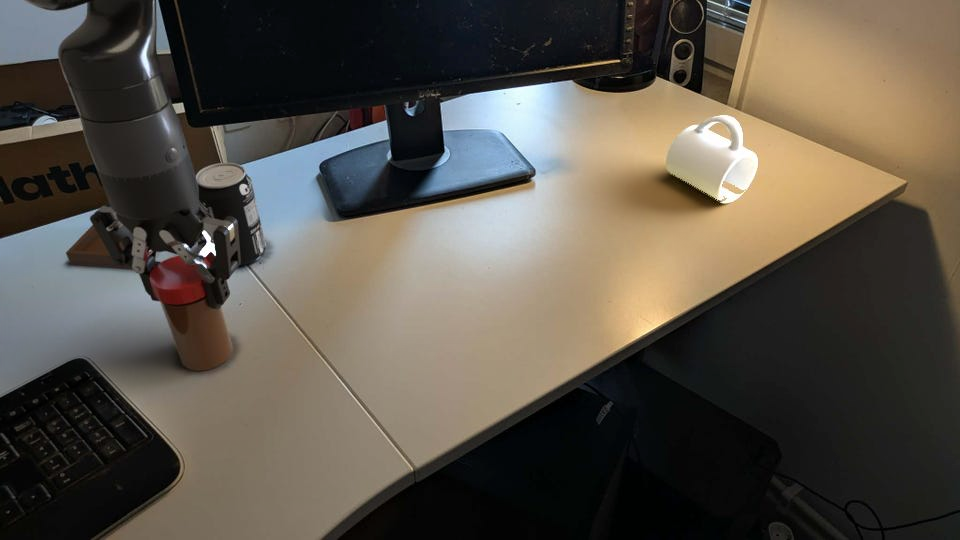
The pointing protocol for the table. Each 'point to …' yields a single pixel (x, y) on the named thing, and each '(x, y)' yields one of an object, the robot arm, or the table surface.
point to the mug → (712, 158)
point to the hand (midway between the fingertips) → (190, 299)
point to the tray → (92, 251)
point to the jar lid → (176, 282)
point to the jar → (199, 334)
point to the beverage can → (233, 205)
